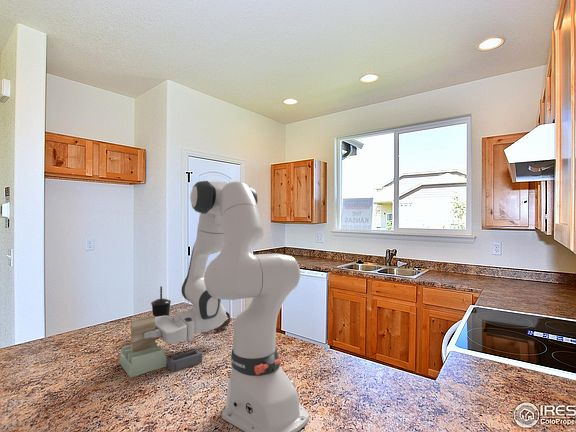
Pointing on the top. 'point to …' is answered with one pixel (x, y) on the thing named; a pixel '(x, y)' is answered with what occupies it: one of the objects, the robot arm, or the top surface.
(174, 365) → the board stand
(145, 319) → the maple board
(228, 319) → the pottery mug
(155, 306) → the drinking cup
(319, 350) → the top surface
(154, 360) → the dish rack
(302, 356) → the top surface
